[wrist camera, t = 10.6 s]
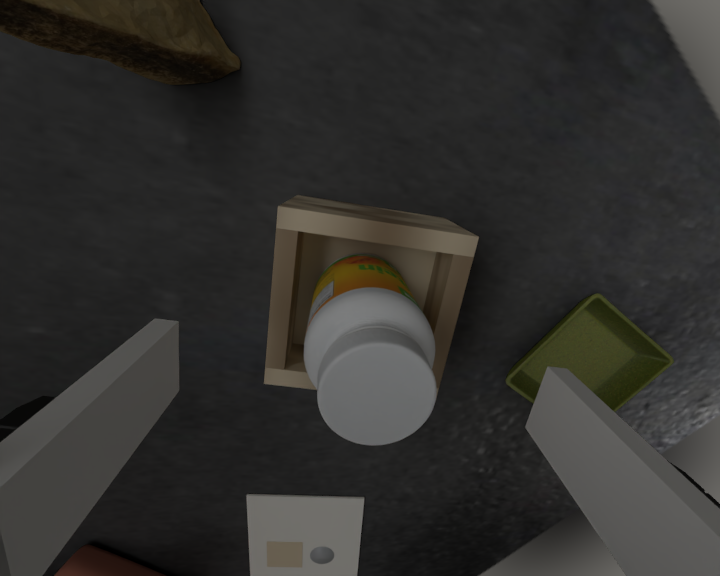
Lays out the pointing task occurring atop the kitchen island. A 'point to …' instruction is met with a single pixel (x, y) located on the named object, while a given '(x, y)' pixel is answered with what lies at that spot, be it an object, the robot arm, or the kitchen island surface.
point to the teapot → (102, 564)
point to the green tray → (594, 354)
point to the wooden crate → (361, 235)
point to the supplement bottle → (369, 352)
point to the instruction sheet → (304, 535)
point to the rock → (127, 35)
